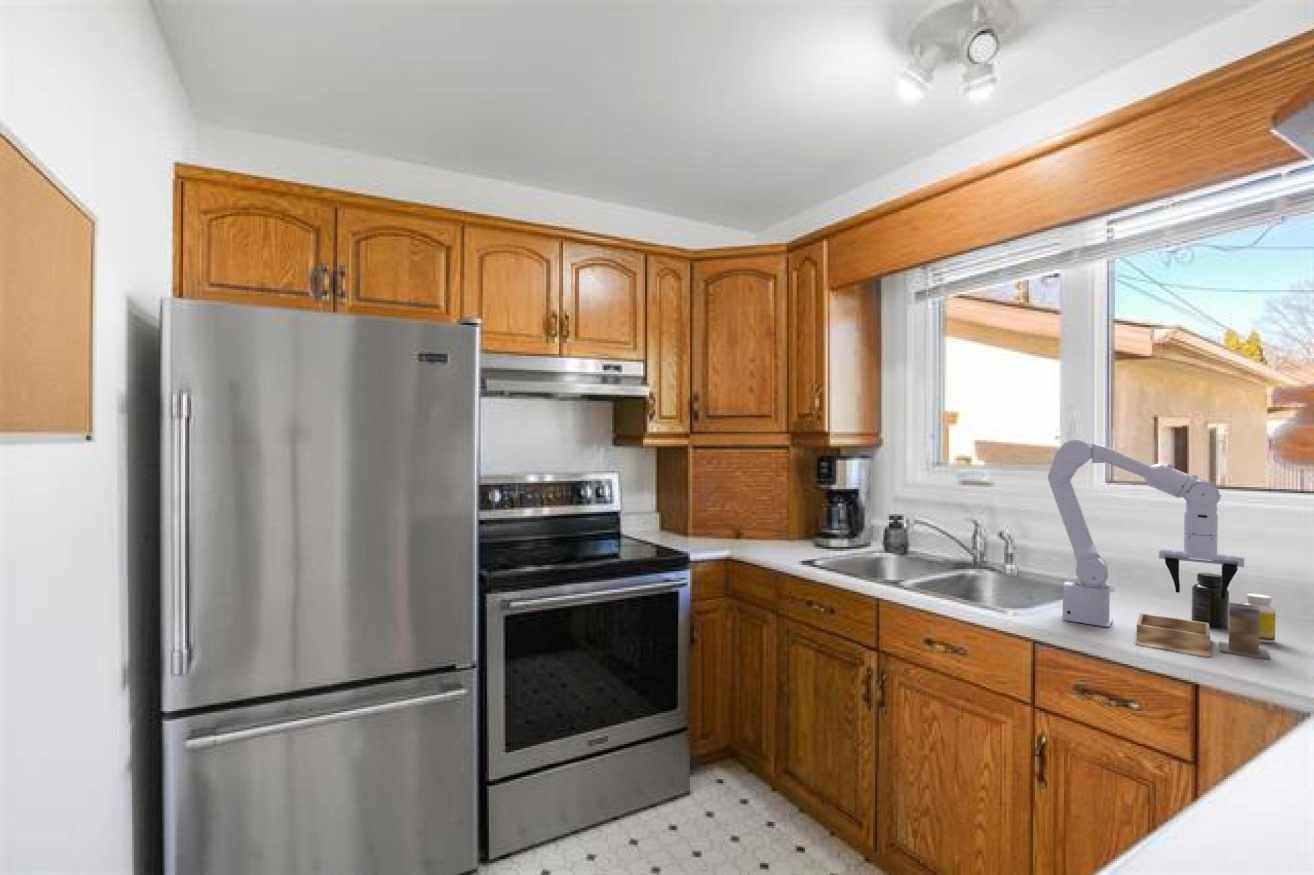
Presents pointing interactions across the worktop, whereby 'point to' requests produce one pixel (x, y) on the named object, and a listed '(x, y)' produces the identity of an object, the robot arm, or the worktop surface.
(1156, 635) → the wooden tray
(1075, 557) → the robot arm
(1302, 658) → the worktop surface
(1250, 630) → the block
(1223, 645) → the pad
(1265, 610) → the supplement bottle
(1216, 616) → the supplement bottle
